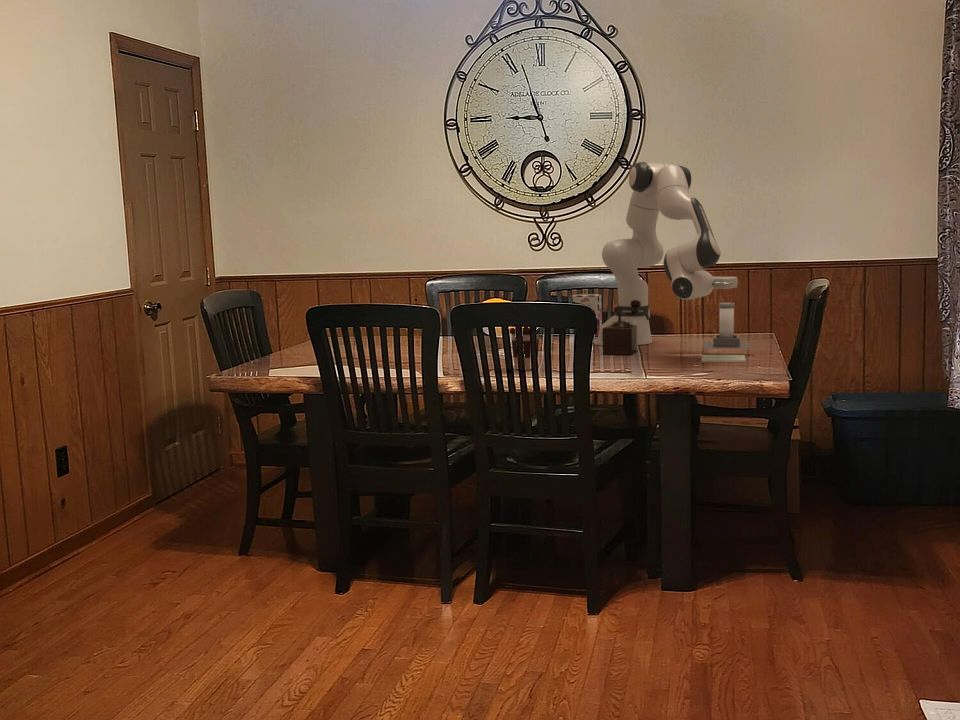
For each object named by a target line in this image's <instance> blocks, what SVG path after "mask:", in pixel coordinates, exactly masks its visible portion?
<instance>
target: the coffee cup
mask: <svg viewBox="0 0 960 720" xmlns="http://www.w3.org/2000/svg"><path fill="white" fill-rule="evenodd" d="M537 333H538V334H537V357H538V356H539V344H540V339H539V334H540V333H541V328H540V327H539V328H538V329H537ZM509 334H510V335H511V347H512V348H511V349H512V356H513V362H514V369H515V370H516V369H517V348H516V339H515V329H514V328H513V327H511V328H509ZM529 335H530V329H529V328H528V327H524V328H523V344H524V354H525V366H526V370H525V371H531V370H530V340H529Z"/></svg>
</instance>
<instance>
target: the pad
mask: <svg viewBox="0 0 960 720" xmlns="http://www.w3.org/2000/svg"><path fill="white" fill-rule="evenodd" d="M701 363H746V355H745V353H702V355H701Z"/></svg>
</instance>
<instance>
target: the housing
mask: <svg viewBox="0 0 960 720" xmlns="http://www.w3.org/2000/svg"><path fill="white" fill-rule="evenodd" d="M712 339H713V341H704V342H703V348H702V349H731V350H733V349H735V350H736V349H737V350H738V349H739V350H740V349H742V350H743V349H751V345H750V342H749V341H740V340H741V337H740V334H734V338H719V334H713V338H712Z"/></svg>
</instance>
